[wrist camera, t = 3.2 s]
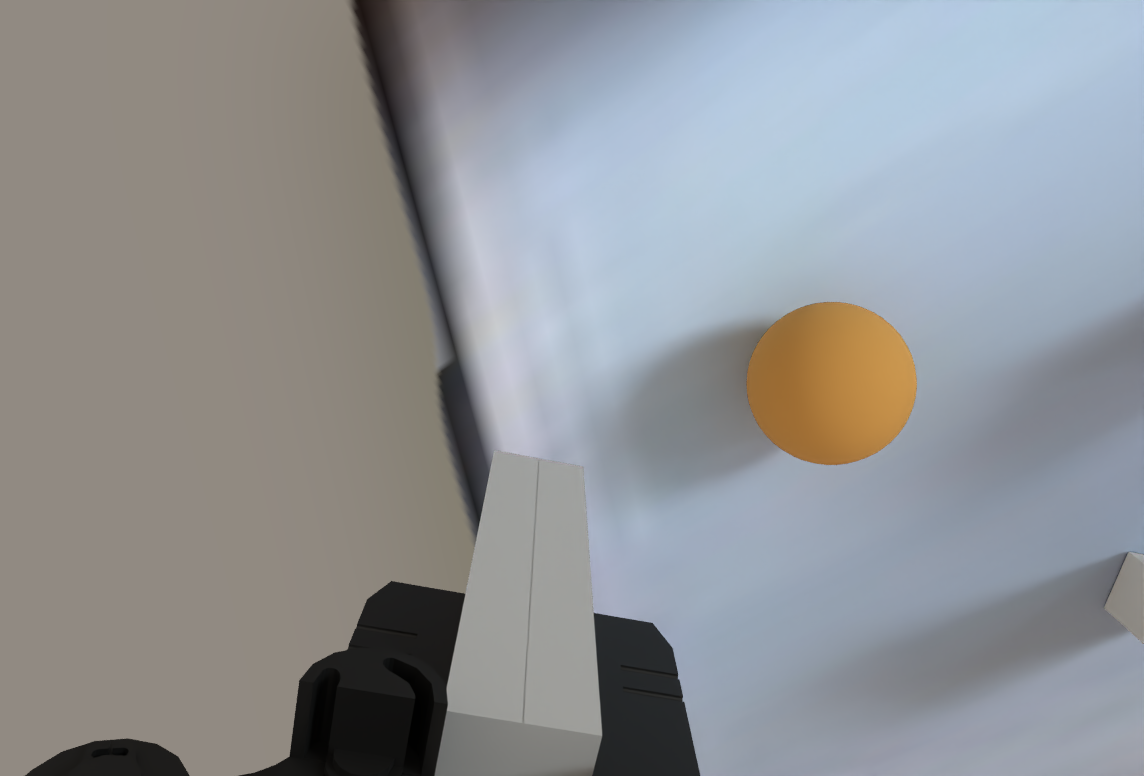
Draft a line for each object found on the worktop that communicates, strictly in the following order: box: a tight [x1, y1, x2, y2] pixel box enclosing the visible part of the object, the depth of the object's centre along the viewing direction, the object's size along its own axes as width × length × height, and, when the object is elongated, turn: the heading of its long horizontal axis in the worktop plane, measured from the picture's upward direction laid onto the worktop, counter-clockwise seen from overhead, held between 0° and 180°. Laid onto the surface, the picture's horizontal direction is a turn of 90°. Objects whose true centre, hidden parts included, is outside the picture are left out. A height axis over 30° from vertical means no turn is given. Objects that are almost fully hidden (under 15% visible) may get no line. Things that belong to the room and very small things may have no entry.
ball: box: [747, 302, 917, 465], centre depth 29 cm, size 6×6×6 cm
